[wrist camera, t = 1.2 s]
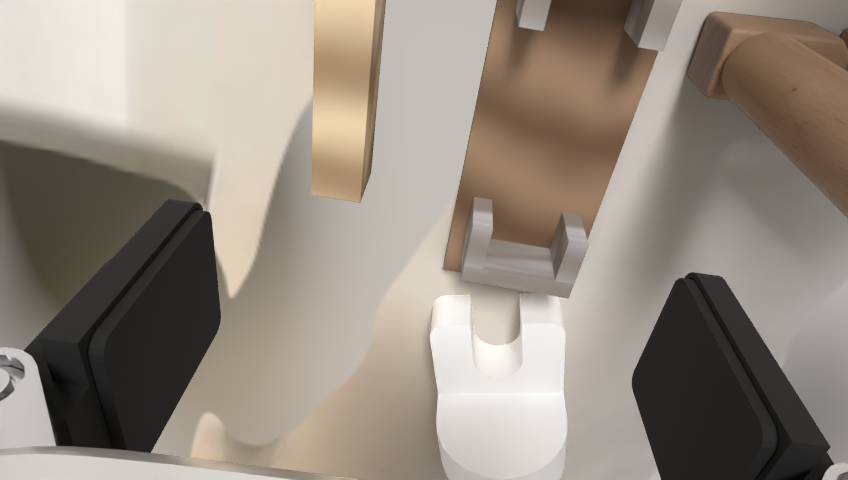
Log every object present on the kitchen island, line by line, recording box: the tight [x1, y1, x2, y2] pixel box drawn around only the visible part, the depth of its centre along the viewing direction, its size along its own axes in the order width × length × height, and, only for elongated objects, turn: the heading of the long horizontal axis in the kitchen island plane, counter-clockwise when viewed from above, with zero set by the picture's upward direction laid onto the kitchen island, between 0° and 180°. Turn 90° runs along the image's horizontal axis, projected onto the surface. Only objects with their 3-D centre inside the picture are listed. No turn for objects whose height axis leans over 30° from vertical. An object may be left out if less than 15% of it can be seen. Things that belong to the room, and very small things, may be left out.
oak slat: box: [312, 0, 386, 203], centre depth 31 cm, size 16×3×4 cm, turn 173°
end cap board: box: [444, 0, 682, 298], centre depth 32 cm, size 24×9×4 cm, turn 172°
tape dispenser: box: [430, 293, 567, 480], centre depth 43 cm, size 10×18×11 cm, turn 7°
